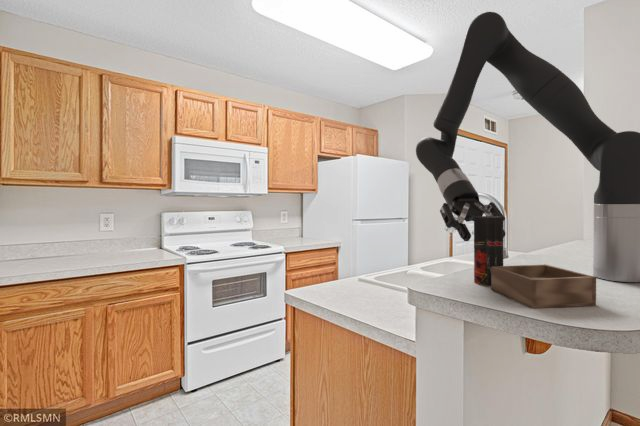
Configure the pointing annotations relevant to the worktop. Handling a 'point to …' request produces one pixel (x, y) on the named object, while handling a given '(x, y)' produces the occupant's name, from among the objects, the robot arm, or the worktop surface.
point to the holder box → (543, 286)
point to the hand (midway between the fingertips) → (485, 238)
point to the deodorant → (487, 247)
